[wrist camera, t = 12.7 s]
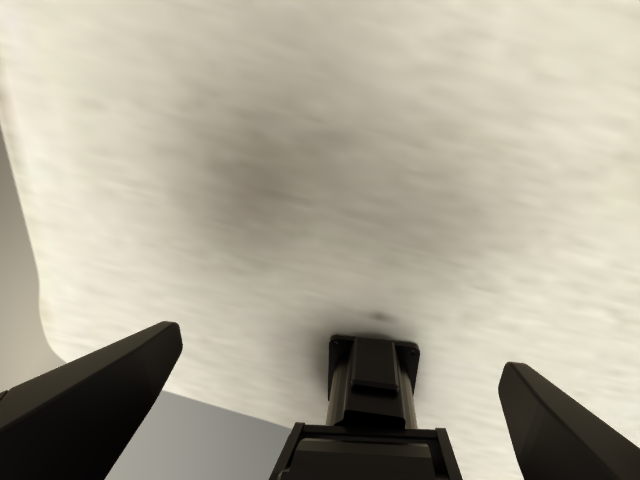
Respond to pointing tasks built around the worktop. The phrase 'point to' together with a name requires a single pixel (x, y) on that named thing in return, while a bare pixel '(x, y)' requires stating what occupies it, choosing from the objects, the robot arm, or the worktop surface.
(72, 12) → the worktop surface
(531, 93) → the worktop surface
